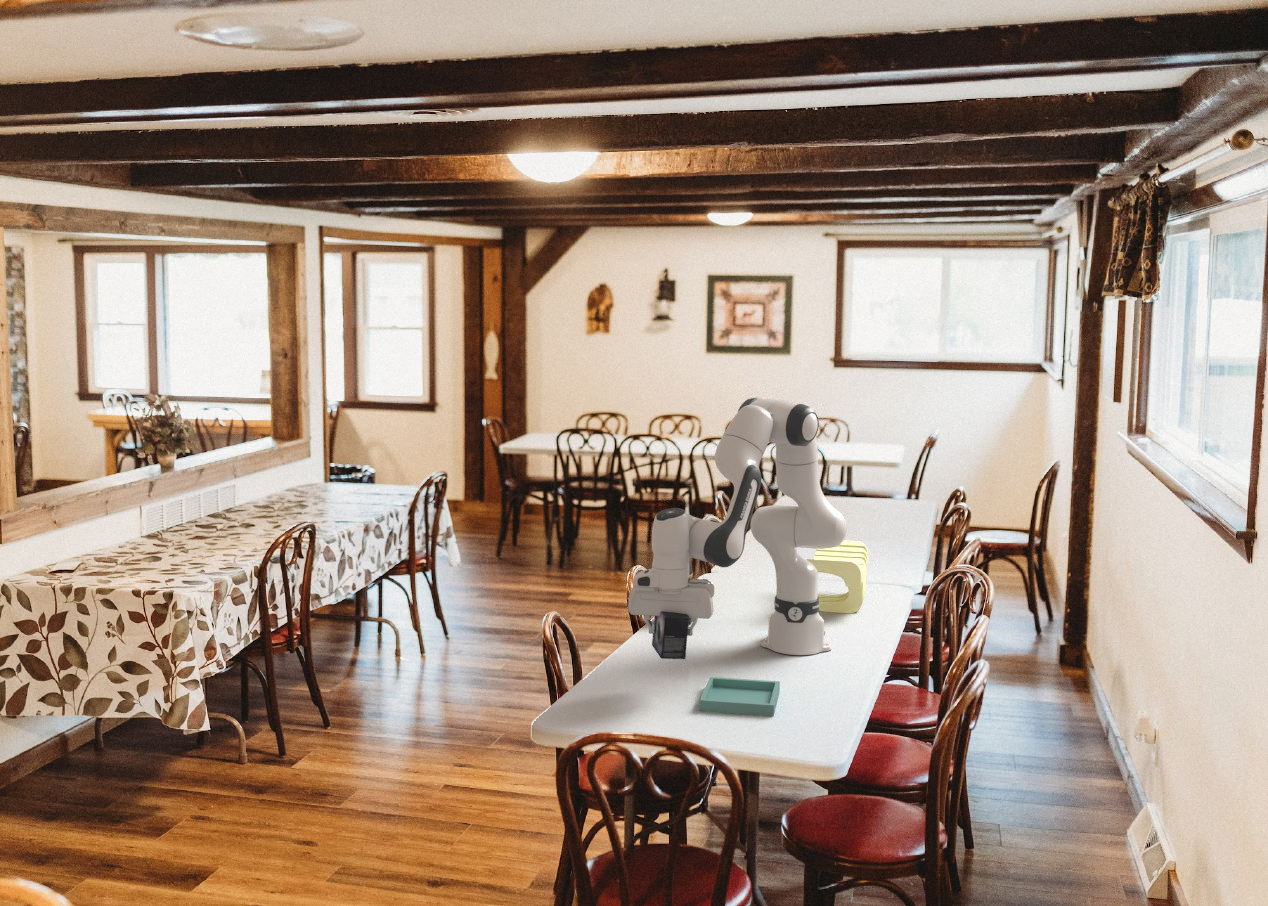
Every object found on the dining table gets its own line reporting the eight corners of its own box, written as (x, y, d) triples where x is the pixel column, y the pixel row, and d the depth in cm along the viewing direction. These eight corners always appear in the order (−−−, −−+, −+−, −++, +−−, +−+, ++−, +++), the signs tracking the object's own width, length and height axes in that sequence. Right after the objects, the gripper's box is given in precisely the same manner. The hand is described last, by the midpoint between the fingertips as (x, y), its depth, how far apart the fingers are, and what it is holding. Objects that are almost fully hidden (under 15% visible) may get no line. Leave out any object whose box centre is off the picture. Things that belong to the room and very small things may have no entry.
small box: (649, 645, 283) (654, 603, 282) (675, 646, 285) (680, 604, 284) (659, 658, 273) (663, 615, 272) (686, 659, 275) (690, 616, 273)
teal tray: (709, 687, 286) (709, 676, 285) (779, 691, 282) (779, 681, 282) (699, 711, 269) (699, 700, 269) (773, 716, 266) (773, 705, 266)
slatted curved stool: (859, 621, 344) (861, 562, 342) (805, 617, 348) (806, 559, 346) (867, 596, 373) (868, 541, 370) (816, 593, 377) (818, 538, 374)
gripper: (716, 576, 277) (715, 632, 279) (631, 572, 282) (632, 627, 284) (712, 582, 271) (712, 640, 273) (626, 578, 276) (626, 635, 278)
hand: (670, 634), depth 279 cm, fingers closed on small box, 8 cm apart
